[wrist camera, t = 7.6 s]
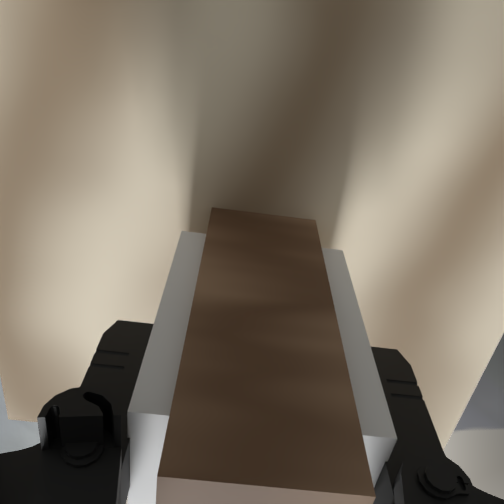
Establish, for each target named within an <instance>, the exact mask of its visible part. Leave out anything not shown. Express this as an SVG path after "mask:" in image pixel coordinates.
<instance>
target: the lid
mask: <svg viewBox="0 0 504 504" xmlns="http://www.w3.org/2000/svg"><path fill="white" fill-rule="evenodd" d="M181 231H187V232H196V233H204V234H206V238H205V243H204V248H203V253H202V258H201V263H200V268H199V273H198V278H197V283H196V288H195V292H194V297H193V302H192V307H191V312H190V317H189V322H188V327H187V332H186V337H185V341H184V346H183V351H182V356H181V361H180V366H179V371H178V376H177V381H176V386H175V390H174V395H173V400H172V405H171V410H170V415H169V420H168V425H167V430H166V435H165V440H164V444H163V449H162V454H161V459H160V464H159V469H158V474H157V487H156V504H373V502H374V500H375V498H376V495H375V491H374V486H373V482H372V477H371V472H370V468H369V463H368V459H367V454H366V449H365V445H364V440H363V436H362V431H361V426H360V422H359V417H358V413H357V408H356V404H355V399H354V394H353V390H352V385H351V381H350V376H349V371H348V367H347V362H346V358H345V353H344V348H343V344H342V339H341V335H340V330H339V326H338V321H337V316H336V312H335V307H334V303H333V298H332V293H331V289H330V284H329V280H328V275H327V270H326V266H325V261H324V257H323V252H322V248H328V249H337V250H343V253H344V257H345V260H346V263H347V267H348V270H349V274H350V277H351V281H352V284H353V288H354V291H355V294H356V298H357V301H358V305H359V308H360V312H361V315H362V319H363V322H364V326H365V329H366V332H367V336H368V339H369V343H370V346H371V347H380V348H389V349H397V350H398V351H399V352H400V353H401V354H402V356H403V357H404V358H405V359H406V360H407V361H408V362H409V364H410V365H411V367H412V369H413V372H414V375H415V377H416V380H417V386H419V388H420V390H421V393H422V396H423V400H424V401H425V404H426V406H427V409H428V412H429V414H430V417H431V420H432V422H433V425H434V427H435V430H436V433H437V435H438V438H439V441H440V443H441V446H442V449H443V451H444V449H445V447H446V445H447V443H448V441H449V439H450V437H451V435H452V433H453V431H454V429H455V427H456V425H457V423H458V421H459V419H460V417H461V415H462V413H463V411H464V409H465V408H466V406H467V404H468V402H469V400H470V398H471V396H472V394H473V392H474V390H475V388H476V386H477V384H478V382H479V380H480V378H481V376H482V374H483V372H484V370H485V368H486V366H487V364H488V362H489V360H490V358H491V357H492V355H493V353H494V351H495V349H496V347H497V345H498V343H499V341H500V339H501V337H502V335H503V333H504V0H0V376H1V382H2V387H3V392H4V398H5V403H6V408H7V414H8V419H11V420H21V421H31V422H38V421H37V417H38V415H39V413H40V411H41V409H42V408H43V406H44V405H45V404H46V403H47V402H48V401H49V400H50V399H52V398H53V397H54V396H55V395H57V394H59V393H61V392H64V391H66V390H68V389H71V388H77V387H80V386H81V384H82V381H83V379H84V377H85V374H86V372H87V370H88V367H90V363H91V360H92V358H93V356H94V353H96V349H97V346H98V344H99V342H100V339H101V337H102V335H103V333H104V332H105V331H106V330H107V329H108V328H110V327H111V326H112V325H113V324H114V323H115V322H116V321H117V320H123V321H132V322H142V323H151V324H154V321H155V318H156V315H157V311H158V308H159V305H160V301H161V298H162V295H163V291H164V288H165V285H166V281H167V278H168V275H169V271H170V268H171V265H172V261H173V258H174V255H175V251H176V248H177V244H178V241H179V238H180V234H181Z"/></svg>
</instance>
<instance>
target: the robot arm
mask: <svg viewBox="0 0 504 504" xmlns="http://www.w3.org/2000/svg"><path fill="white" fill-rule="evenodd" d="M205 238H206V234H204V233H196V232H187V231H181V234H180V238H179V241H178V244H177V248H176V251H175V255H174V258H173V261H172V265H171V268H170V271H169V275H168V278H167V281H166V285H165V288H164V291H163V295H162V298H161V301H160V305H159V308H158V311H157V315H156V318H155V321H154V324H151V323H142V322H132V321H123V320H117V321H116V322H115V323H114V324H113V325H112V326H111V327H110V328H108V329H107V330H106V331H105V332H104V333H103V335H102V337H101V339H100V342H99V344H98V346H97V349H96V353H94V356H93V358H92V360H91V363H90V367H88V370H87V372H86V374H85V377H84V379H83V381H82V384H81V386H80V387H77V388H71V389H68V390H66V391H64V392H61V393H59V394H57V395H55V396H54V397H53V398H52V399H50V400H49V401H48V402H47V403H46V404H45V405H44V406H43V408H42V409H41V411H40V413H39V415H38V417H37V421H38V428H39V435H40V442H41V443H39V444H37V445H35V446H33V447H30V448H26V449H22V450H18V451H13V452H8V453H2V454H0V504H126V500H127V496H128V504H156V487H157V474H158V469H159V464H160V459H161V454H162V449H163V444H164V440H165V435H166V430H167V425H168V420H169V415H170V410H171V405H172V400H173V395H174V390H175V386H176V381H177V376H178V371H179V366H180V361H181V356H182V351H183V346H184V341H185V337H186V332H187V327H188V322H189V317H190V312H191V307H192V302H193V297H194V292H195V288H196V283H197V278H198V273H199V268H200V263H201V258H202V253H203V248H204V243H205ZM322 252H323V257H324V261H325V266H326V270H327V275H328V280H329V284H330V289H331V293H332V298H333V303H334V307H335V312H336V316H337V321H338V326H339V330H340V335H341V339H342V344H343V348H344V353H345V358H346V362H347V367H348V371H349V376H350V381H351V385H352V390H353V394H354V399H355V404H356V408H357V413H358V417H359V422H360V426H361V431H362V436H363V440H364V445H365V449H366V454H367V459H368V463H369V468H370V472H371V477H372V482H373V486H374V491H375V495H376V498H375V500H374V502H373V504H504V500H503V499H500V498H498V497H495V496H493V495H490V494H488V493H486V492H484V491H481V490H479V489H477V488H476V487H474V486H473V485H472V483H471V481H470V479H469V477H468V476H467V475H466V474H465V473H464V471H463V470H462V469H461V468H460V467H459V466H458V465H457V464H455V463H454V462H452V461H451V460H450V459H448V458H447V457H446V456H445V454H444V451H443V449H442V446H441V443H440V441H439V438H438V435H437V433H436V430H435V427H434V425H433V422H432V420H431V417H430V414H429V412H428V409H427V406H426V404H425V401H424V400H423V396H422V393H421V390H420V388H419V386H417V380H416V377H415V375H414V372H413V369H412V367H411V365H410V364H409V362H408V361H407V360H406V359H405V358H404V357H403V356H402V354H401V353H400V352H399V351H398V350H397V349H389V348H380V347H371V346H370V343H369V339H368V336H367V332H366V329H365V326H364V322H363V319H362V315H361V312H360V308H359V305H358V301H357V298H356V294H355V291H354V288H353V284H352V281H351V277H350V274H349V270H348V267H347V263H346V260H345V257H344V253H343V250H337V249H328V248H322Z"/></svg>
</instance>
